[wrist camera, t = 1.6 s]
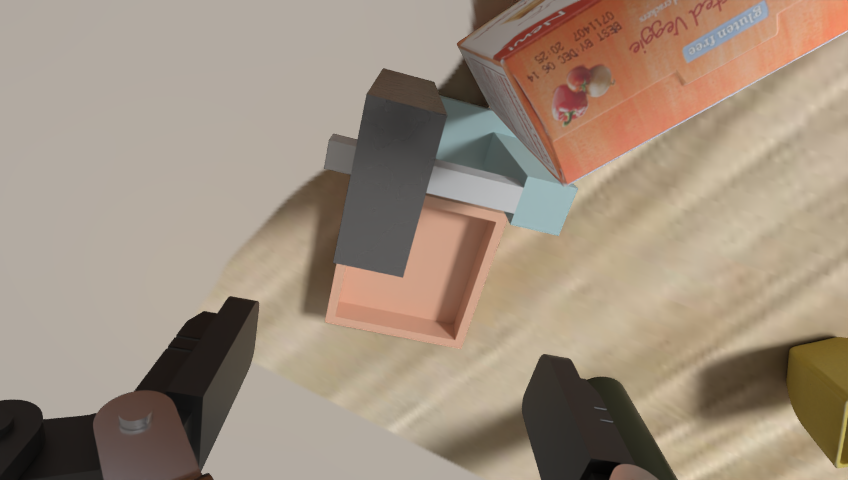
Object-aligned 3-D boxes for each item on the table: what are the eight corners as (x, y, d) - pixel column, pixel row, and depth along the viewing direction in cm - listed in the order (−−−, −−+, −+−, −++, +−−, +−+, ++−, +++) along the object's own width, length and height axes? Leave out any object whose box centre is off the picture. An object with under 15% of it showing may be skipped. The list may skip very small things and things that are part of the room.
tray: (358, 166, 39) (353, 178, 36) (501, 201, 40) (509, 215, 37) (330, 301, 44) (324, 322, 41) (457, 327, 46) (461, 348, 43)
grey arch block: (383, 68, 32) (366, 93, 20) (434, 81, 32) (447, 114, 20) (359, 182, 35) (333, 262, 23) (405, 193, 36) (403, 277, 24)
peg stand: (361, 74, 36) (336, 98, 24) (532, 119, 37) (588, 163, 26) (346, 149, 38) (317, 205, 26) (508, 188, 40) (549, 257, 28)
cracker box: (626, -77, 32) (940, -225, 13) (655, 7, 34) (961, -15, 15) (450, 38, 35) (497, 55, 16) (487, 109, 37) (568, 198, 18)
